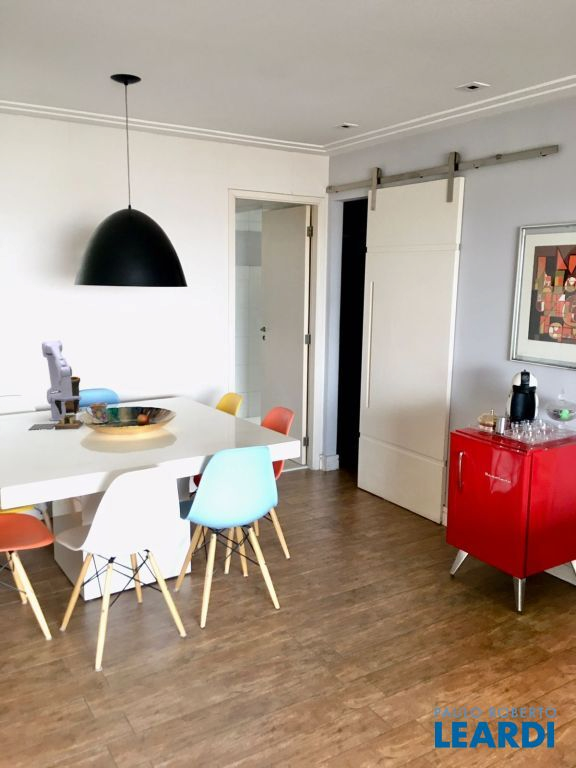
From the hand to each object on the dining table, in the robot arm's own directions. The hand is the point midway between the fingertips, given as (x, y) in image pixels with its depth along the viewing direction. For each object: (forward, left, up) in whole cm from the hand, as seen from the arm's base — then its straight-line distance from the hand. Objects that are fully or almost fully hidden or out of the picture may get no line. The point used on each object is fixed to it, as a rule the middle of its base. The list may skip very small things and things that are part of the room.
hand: (68, 413), depth 357 cm
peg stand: (0, 0, -7) cm, 7 cm away
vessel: (-40, -8, -7) cm, 42 cm away
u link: (0, 0, -5) cm, 5 cm away
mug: (-5, +14, -7) cm, 16 cm away
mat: (-1, -14, -7) cm, 16 cm away
